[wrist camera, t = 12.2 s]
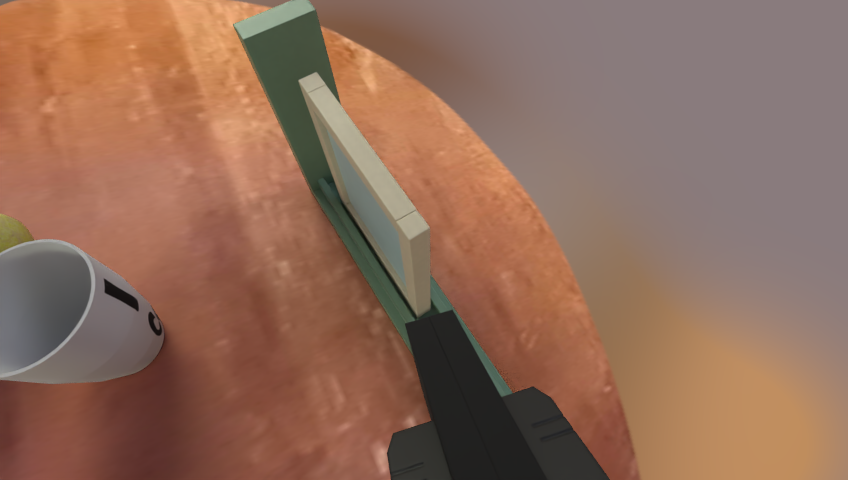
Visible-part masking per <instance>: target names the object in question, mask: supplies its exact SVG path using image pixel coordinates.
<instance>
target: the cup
mask: <svg viewBox="0 0 848 480" xmlns="http://www.w3.org/2000/svg"><path fill="white" fill-rule="evenodd" d="M163 340H164V328H163V325H162V322H161V321H160V319H159V317H158V316H157V314H156V313H155V311H154V309H153V308H152V306H151V305H150V303H149V302H148V301H147V300H146V299H145V298H144V297H143V296H142V295H141V294H140V293H138V292H137V291H136V290H135V289H134V288H133V287H132V286H131V285H130V284H129V283H128V282H127V281H126V280H125V279H123V278H122V277H121V276H120V275H118V274H117V273H115V272H114V271H112V270H111V269H109V268H108V267H106V266H105V265H103V264H102V263H100V262H99V261H97V260H96V259H94V258H93V257H91V256H90V255H88V254H87V253H85V252H84V251H82V250H81V249H79V248H78V247H76V246H74V245H73V244H70V243H68V242H65V241H61V240H54V239H42V240H34V241H29V242H25V243H22V244H19V245H16V246H13V247H11V248H9V249H7V250H5V251H3V252H1V253H0V380H11V381H23V382H34V383H46V384H63V383H84V382H101V381H106V380H110V379H115V378H119V377H123V376H127V375H131V374H134V373H136V372H139V371H140V370H142V369H144V368H145V367H146V366H148V365H149V364H150V363H151V362H152V361H153V360H154V359H155V357H156V356H157V355H158V353H159V351H160V349H161V347H162V344H163Z"/></svg>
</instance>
